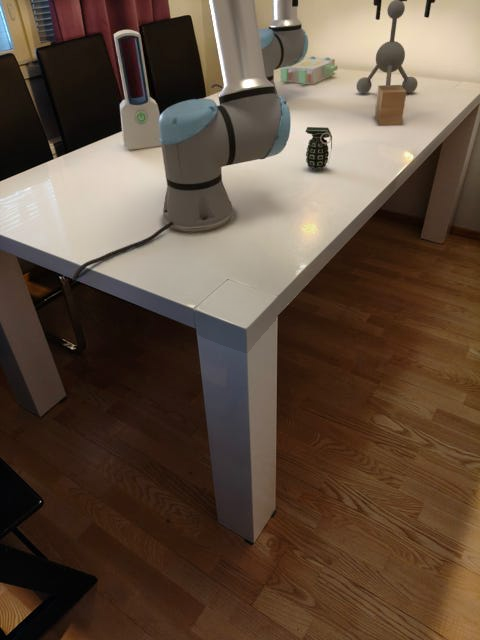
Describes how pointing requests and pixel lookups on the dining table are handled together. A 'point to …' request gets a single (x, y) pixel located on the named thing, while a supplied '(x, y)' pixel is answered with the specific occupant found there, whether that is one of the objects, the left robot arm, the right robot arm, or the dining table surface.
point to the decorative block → (309, 70)
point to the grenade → (318, 147)
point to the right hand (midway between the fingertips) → (401, 18)
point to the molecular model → (390, 55)
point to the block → (390, 104)
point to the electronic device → (137, 102)
